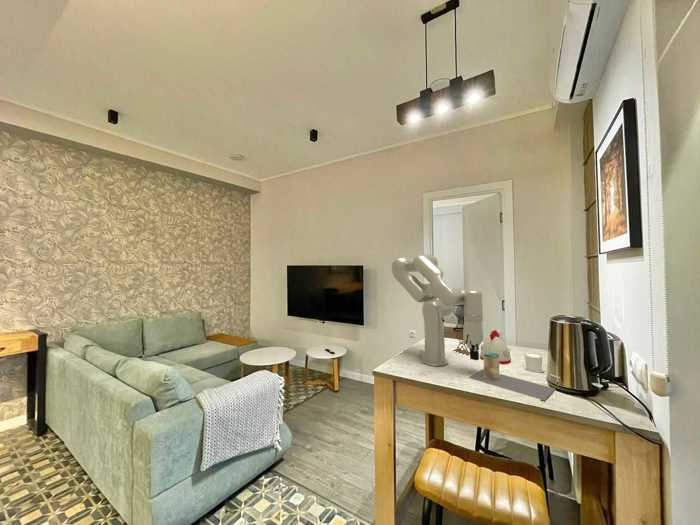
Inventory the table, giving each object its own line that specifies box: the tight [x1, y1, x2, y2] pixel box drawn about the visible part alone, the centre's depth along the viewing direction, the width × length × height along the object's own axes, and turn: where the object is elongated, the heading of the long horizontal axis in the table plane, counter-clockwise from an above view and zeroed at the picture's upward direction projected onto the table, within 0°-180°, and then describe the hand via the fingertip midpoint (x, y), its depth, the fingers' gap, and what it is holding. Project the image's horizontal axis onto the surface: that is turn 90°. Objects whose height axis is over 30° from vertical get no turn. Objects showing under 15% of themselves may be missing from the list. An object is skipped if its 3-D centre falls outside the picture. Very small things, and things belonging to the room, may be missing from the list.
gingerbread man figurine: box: [453, 330, 470, 356], centre depth 158 cm, size 9×4×12 cm, turn 34°
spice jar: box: [483, 352, 500, 381], centre depth 122 cm, size 4×4×10 cm
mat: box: [467, 368, 556, 402], centre depth 116 cm, size 28×14×1 cm, turn 41°
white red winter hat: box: [479, 329, 512, 366], centre depth 146 cm, size 14×14×15 cm
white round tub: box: [524, 352, 543, 374], centre depth 130 cm, size 7×7×7 cm
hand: (474, 359), depth 127 cm, fingers closed
